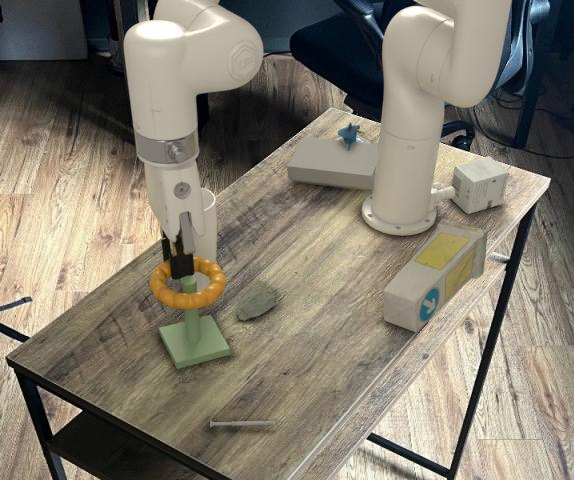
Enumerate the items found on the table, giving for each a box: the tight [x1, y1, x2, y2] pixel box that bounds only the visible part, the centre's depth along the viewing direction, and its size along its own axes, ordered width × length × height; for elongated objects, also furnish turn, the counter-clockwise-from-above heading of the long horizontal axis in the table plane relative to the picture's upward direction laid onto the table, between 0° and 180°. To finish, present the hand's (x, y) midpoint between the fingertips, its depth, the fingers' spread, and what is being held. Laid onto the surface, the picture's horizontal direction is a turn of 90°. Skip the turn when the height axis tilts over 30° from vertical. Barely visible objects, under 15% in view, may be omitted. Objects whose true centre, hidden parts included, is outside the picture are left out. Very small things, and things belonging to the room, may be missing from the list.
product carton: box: [450, 155, 510, 215], centre depth 140 cm, size 6×6×7 cm
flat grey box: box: [286, 135, 379, 191], centre depth 143 cm, size 10×4×15 cm
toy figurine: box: [337, 122, 367, 151], centre depth 145 cm, size 12×4×8 cm, turn 159°
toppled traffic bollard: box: [382, 218, 488, 334], centre depth 124 cm, size 19×8×8 cm
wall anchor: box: [209, 419, 277, 428], centre depth 108 cm, size 1×9×1 cm, turn 92°
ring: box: [148, 256, 227, 310], centre depth 110 cm, size 10×10×2 cm
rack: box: [158, 276, 231, 370], centre depth 114 cm, size 8×8×11 cm
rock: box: [236, 280, 276, 322], centre depth 124 cm, size 9×2×5 cm
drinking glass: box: [180, 187, 219, 292], centre depth 120 cm, size 7×7×15 cm
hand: (179, 268), depth 112 cm, fingers closed on ring, 2 cm apart
